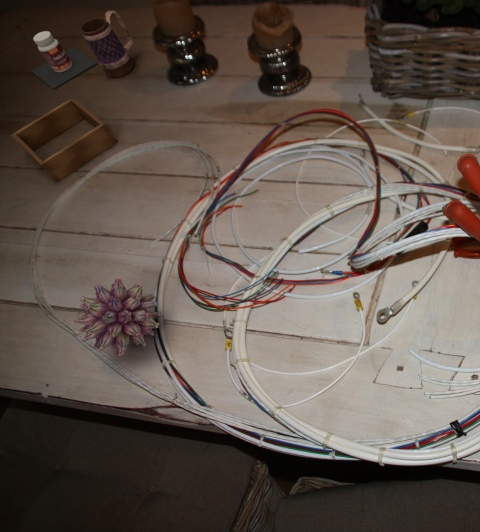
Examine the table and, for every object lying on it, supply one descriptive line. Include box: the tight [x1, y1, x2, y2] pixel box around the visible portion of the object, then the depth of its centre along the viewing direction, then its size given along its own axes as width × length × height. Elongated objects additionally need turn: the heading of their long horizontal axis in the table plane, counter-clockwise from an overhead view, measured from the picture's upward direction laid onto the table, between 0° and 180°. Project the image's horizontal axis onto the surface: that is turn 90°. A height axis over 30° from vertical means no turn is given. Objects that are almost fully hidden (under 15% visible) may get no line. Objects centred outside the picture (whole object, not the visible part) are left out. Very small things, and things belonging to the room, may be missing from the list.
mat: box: [31, 46, 98, 91], centre depth 134 cm, size 12×12×1 cm
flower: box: [73, 277, 161, 357], centre depth 83 cm, size 12×12×12 cm
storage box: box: [10, 97, 119, 183], centre depth 115 cm, size 15×15×5 cm
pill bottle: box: [33, 30, 73, 72], centre depth 130 cm, size 5×5×8 cm
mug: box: [80, 10, 135, 79], centre depth 127 cm, size 10×7×12 cm
